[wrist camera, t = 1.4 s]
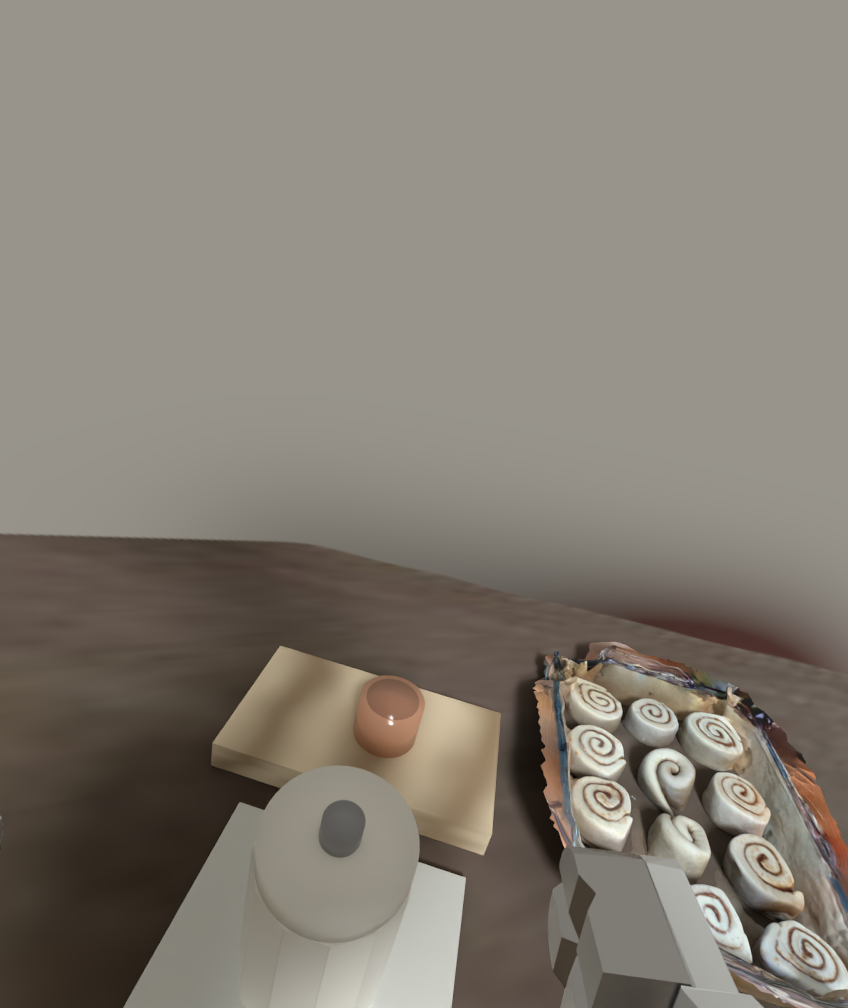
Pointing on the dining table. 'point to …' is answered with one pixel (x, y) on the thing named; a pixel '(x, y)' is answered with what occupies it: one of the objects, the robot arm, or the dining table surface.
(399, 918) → the lidded storage canister
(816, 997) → the baking tray
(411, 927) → the rubber mat
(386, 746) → the terracotta bowl
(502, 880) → the dining table surface
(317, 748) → the maple board
